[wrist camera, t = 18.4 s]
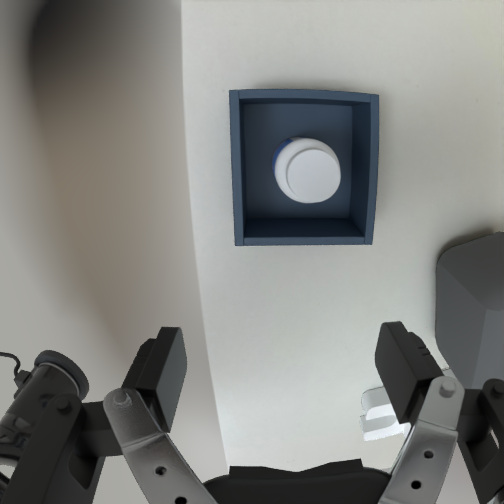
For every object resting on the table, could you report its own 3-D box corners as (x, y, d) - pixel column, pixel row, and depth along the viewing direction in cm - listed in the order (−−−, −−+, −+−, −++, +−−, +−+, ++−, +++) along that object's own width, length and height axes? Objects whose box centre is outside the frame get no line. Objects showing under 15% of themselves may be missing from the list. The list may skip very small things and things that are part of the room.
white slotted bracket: (362, 391, 44) (378, 445, 34) (460, 365, 43) (487, 408, 33) (359, 426, 48) (371, 475, 38) (448, 401, 46) (469, 443, 36)
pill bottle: (279, 194, 33) (286, 220, 24) (265, 144, 31) (266, 150, 22) (330, 180, 32) (355, 202, 23) (317, 130, 30) (339, 132, 21)
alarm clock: (486, 322, 39) (538, 384, 25) (428, 345, 41) (471, 421, 26) (493, 225, 34) (570, 274, 19) (427, 246, 35) (498, 312, 21)
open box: (240, 223, 35) (234, 246, 29) (235, 97, 30) (229, 90, 24) (353, 223, 35) (372, 245, 28) (357, 100, 30) (379, 94, 23)
